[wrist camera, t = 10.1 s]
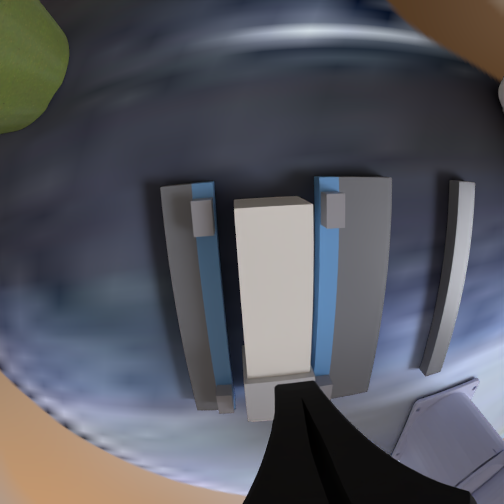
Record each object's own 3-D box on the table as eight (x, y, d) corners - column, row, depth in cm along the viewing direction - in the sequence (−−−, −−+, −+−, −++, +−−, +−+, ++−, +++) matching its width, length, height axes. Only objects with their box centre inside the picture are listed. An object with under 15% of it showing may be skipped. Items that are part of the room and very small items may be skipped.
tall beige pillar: (299, 381, 19) (311, 419, 15) (245, 387, 18) (248, 427, 15) (300, 195, 15) (320, 205, 12) (229, 199, 15) (228, 210, 12)
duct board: (434, 364, 19) (446, 379, 17) (198, 400, 18) (196, 420, 17) (465, 181, 15) (485, 184, 13) (165, 185, 14) (154, 189, 13)
